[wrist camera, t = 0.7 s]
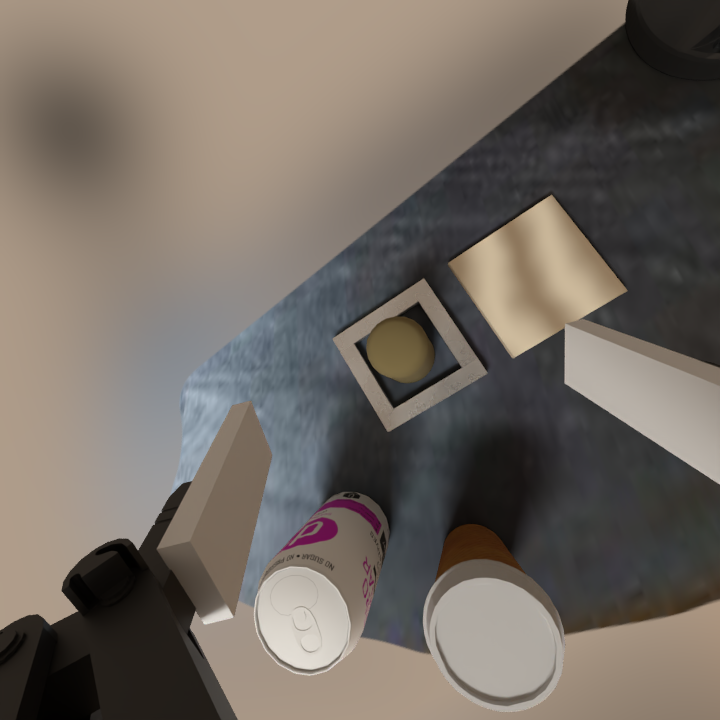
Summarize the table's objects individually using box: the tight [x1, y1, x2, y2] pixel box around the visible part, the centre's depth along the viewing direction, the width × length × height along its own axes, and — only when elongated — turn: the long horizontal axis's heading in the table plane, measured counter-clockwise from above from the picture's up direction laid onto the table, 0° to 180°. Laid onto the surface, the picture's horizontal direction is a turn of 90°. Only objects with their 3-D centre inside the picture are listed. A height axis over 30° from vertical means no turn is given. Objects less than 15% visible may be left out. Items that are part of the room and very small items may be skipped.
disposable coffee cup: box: [423, 524, 565, 712], centre depth 29 cm, size 10×10×12 cm
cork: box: [366, 316, 435, 383], centre depth 32 cm, size 6×6×11 cm
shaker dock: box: [333, 279, 487, 432], centre depth 37 cm, size 12×12×1 cm
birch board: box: [448, 195, 627, 358], centre depth 35 cm, size 12×12×1 cm
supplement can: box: [254, 492, 390, 676], centre depth 30 cm, size 8×8×15 cm
